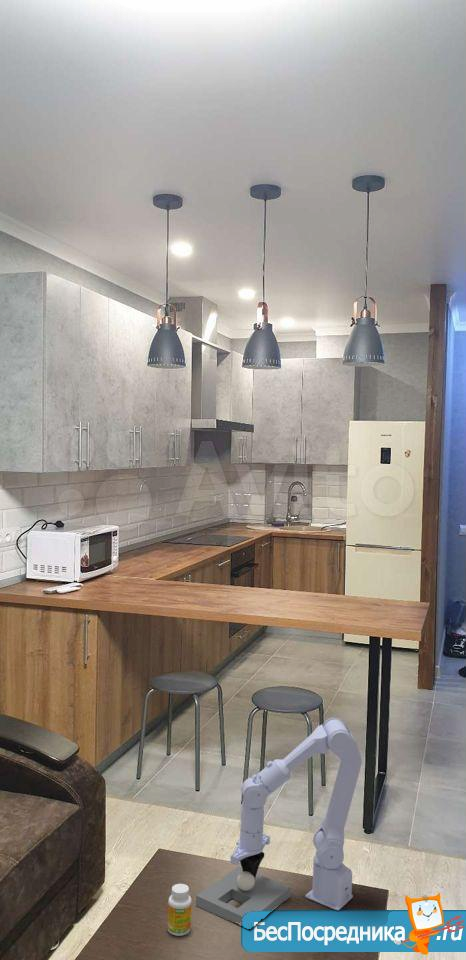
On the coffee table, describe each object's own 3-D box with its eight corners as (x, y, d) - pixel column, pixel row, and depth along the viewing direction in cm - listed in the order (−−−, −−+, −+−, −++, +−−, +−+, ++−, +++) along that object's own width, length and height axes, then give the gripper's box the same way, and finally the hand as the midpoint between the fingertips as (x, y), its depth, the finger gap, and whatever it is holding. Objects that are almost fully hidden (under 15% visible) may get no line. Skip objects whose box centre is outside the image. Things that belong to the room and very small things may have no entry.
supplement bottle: (172, 938, 176) (174, 896, 176) (163, 926, 181) (165, 884, 181) (194, 933, 179) (195, 891, 179) (184, 920, 184) (186, 879, 183)
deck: (290, 897, 195) (290, 887, 195) (249, 930, 180) (249, 920, 180) (238, 875, 204) (238, 866, 204) (195, 905, 190) (196, 895, 190)
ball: (258, 871, 193) (247, 879, 190) (258, 888, 194) (247, 897, 190) (244, 865, 196) (233, 873, 193) (245, 882, 196) (233, 890, 193)
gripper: (255, 813, 203) (252, 864, 203) (221, 833, 191) (218, 887, 191) (277, 821, 198) (275, 874, 199) (245, 842, 187) (242, 898, 187)
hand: (249, 881), depth 195 cm, fingers closed, pressing on ball
